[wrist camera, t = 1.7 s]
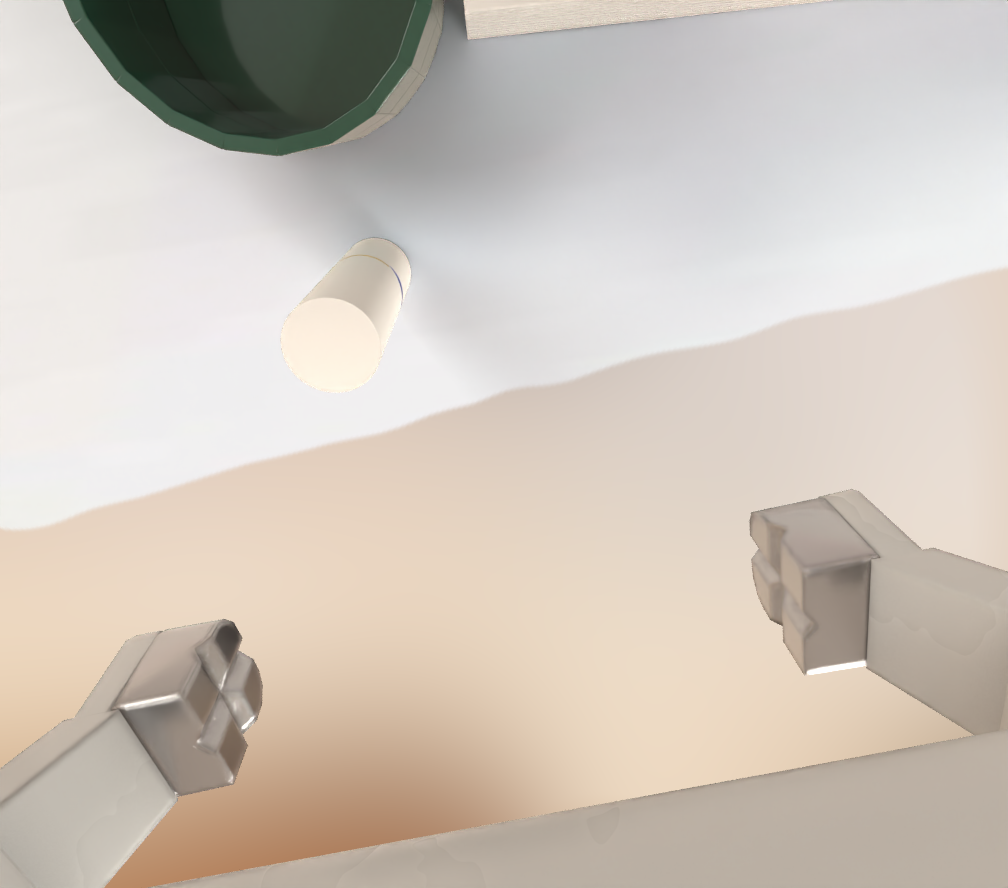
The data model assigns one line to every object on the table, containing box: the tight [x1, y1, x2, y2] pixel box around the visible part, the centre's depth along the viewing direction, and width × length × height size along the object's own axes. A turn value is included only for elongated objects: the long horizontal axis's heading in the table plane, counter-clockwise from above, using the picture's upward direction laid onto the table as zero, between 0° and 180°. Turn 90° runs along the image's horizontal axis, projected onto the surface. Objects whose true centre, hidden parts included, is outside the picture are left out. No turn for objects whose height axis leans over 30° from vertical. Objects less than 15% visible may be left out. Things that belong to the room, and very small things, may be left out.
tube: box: [281, 238, 411, 393], centre depth 35 cm, size 4×4×15 cm
